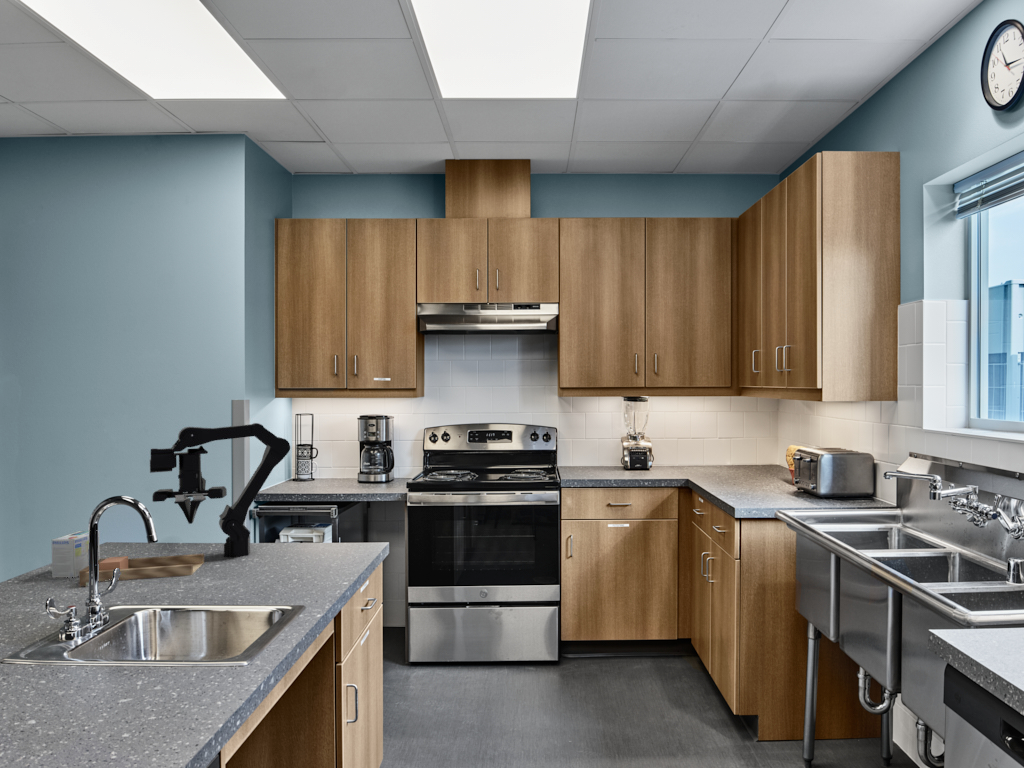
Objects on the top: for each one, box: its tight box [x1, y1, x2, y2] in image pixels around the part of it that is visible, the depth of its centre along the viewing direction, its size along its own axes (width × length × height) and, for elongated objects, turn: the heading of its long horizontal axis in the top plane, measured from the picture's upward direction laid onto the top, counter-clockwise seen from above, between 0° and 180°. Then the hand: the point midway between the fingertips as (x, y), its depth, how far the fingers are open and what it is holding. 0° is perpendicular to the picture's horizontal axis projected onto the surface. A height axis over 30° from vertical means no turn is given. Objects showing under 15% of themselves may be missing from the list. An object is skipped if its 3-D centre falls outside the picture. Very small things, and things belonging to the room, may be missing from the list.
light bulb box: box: [51, 530, 101, 579], centre depth 181 cm, size 11×7×11 cm, turn 178°
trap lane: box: [78, 553, 205, 588], centre depth 176 cm, size 27×13×4 cm, turn 102°
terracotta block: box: [99, 555, 129, 571], centre depth 175 cm, size 5×6×4 cm
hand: (190, 523), depth 187 cm, fingers closed
